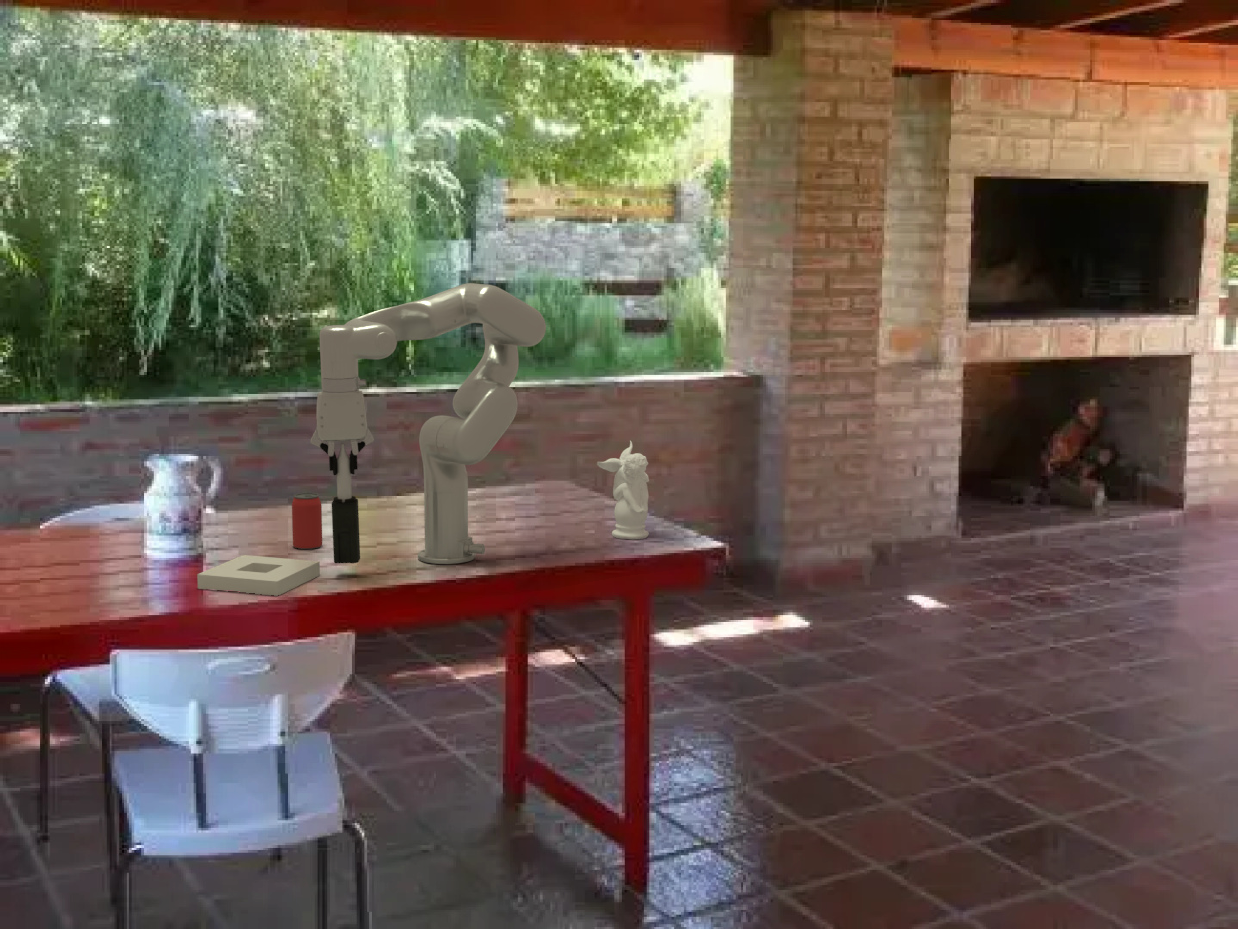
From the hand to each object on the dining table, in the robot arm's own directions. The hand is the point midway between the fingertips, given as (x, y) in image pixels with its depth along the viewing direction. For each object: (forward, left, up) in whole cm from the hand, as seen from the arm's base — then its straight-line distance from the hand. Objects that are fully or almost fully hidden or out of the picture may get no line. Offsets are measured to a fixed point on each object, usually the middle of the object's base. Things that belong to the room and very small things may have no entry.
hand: (343, 472), depth 325 cm
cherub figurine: (-44, -57, -22) cm, 75 cm away
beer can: (+20, -22, -22) cm, 37 cm away
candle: (0, 0, -19) cm, 19 cm away
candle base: (+14, +10, -22) cm, 28 cm away
